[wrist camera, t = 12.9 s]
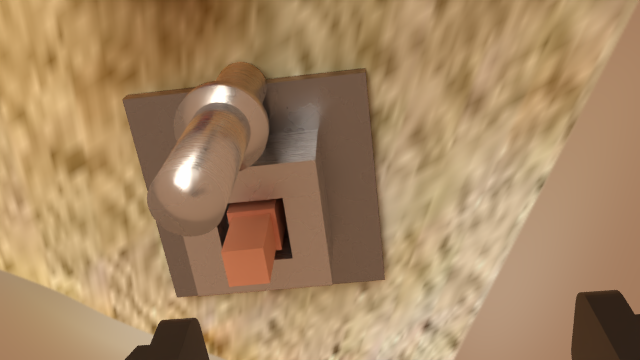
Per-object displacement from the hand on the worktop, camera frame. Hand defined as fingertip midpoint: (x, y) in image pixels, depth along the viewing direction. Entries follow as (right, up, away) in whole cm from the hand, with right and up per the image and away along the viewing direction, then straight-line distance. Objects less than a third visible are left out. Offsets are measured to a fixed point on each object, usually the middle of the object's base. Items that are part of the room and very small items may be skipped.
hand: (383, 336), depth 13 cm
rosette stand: (-6, +4, +30) cm, 31 cm away
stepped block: (-5, +2, +30) cm, 30 cm away
